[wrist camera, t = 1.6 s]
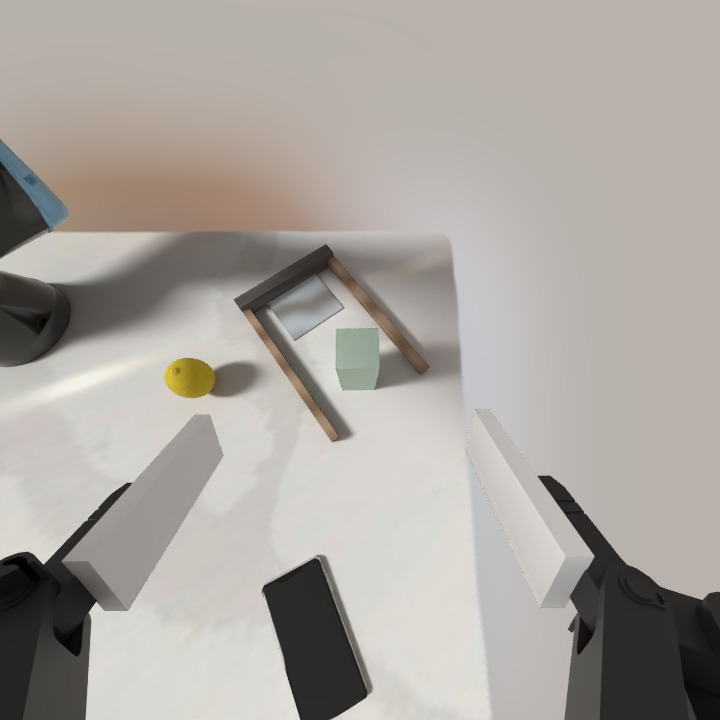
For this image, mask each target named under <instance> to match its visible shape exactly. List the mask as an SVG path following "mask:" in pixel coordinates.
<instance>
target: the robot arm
mask: <svg viewBox="0 0 720 720" xmlns="http://www.w3.org/2000/svg"><path fill="white" fill-rule="evenodd" d="M68 216H69V212H68V209H67V207H66V206H65V205H64V203H63V202H62V201H61V200H60V199H59V198H58V197H57V196H56V195H55V194H54V193H53V192H52V191H51V190H50V189H49V188H48V187H47V185H46V184H45V183H44V182H43V181H42V180H41V179H40V178H39V177H38V176H37V175H36V174H35V173H34V172H33V171H32V170H31V169H30V168H29V167H28V166H27V165H26V164H25V163H24V162H23V161H21V159H20V158H19V157H18V156H17V155H16V154H15V153H14V152H13V151H12V150H11V149H10V148H9V147H8V146H7V145H6V144H4V142H3V141H1V139H0V258H2V257H4V256H6V255H8V254H9V253H11V252H13V251H15V250H16V249H18V248H20V247H22V246H24V245H25V244H27V243H29V242H31V241H33V240H35V239H37V238H38V237H40V236H42V235H44V234H46V233H50V232H52V231H53V230H54V228H55V227H57V226H58V225H59V224H61V223H63V222H64V221H65V220H67V219H68ZM69 316H70V306H69V302H68V300H67V298H66V296H65V295H64V294H63V293H62V292H61V291H59V290H58V289H56V288H54V287H52V286H50V285H48V284H46V283H44V282H42V281H39V280H36V279H32V278H27V277H23V276H20V275H16V274H12V273H8V272H4V271H0V366H1V367H8V366H16V365H20V364H23V363H26V362H29V361H31V360H33V359H35V358H37V357H38V356H40V355H42V354H43V353H44V352H46V351H47V350H48V349H49V348H51V347H52V346H53V345H54V344H55V343H56V342H57V340H58V339H59V338H60V337H61V335H62V334H63V332H64V330H65V328H66V326H67V324H68V321H69ZM466 453H467V455H468V458H469V460H470V462H471V464H472V466H473V468H474V470H475V472H476V474H477V477H478V479H479V481H480V483H481V485H482V487H483V489H484V491H485V494H486V496H487V498H488V500H489V502H490V504H491V506H492V508H493V511H494V513H495V515H496V517H497V519H498V521H499V523H500V526H501V528H502V530H503V532H504V534H505V536H506V538H507V540H508V543H509V544H510V547H511V549H512V551H513V553H514V555H515V557H516V559H517V562H518V564H519V566H520V568H521V570H522V572H523V574H524V576H525V579H526V581H527V583H528V585H529V587H530V589H531V591H532V593H533V596H534V598H535V600H536V602H537V604H538V606H539V608H564V607H565V606H566V604H567V602H568V601H569V599H570V598H571V600H572V602H573V604H574V606H575V607H576V609H577V611H578V613H577V614H576V616H575V617H574V619H573V621H572V622H571V624H570V626H569V628H568V630H569V631H571V632H573V631H574V638H573V647H572V656H571V665H570V674H569V684H568V692H567V702H566V712H565V720H720V592H714V593H709V594H708V595H707V596H706V597H705V598H704V599H703V600H700V599H697V598H694V597H691V596H687V595H684V594H681V593H678V592H674V591H671V590H668V589H665V588H662V587H660V586H659V585H658V584H656V583H655V582H654V581H653V580H652V579H651V578H650V577H649V576H647V575H646V574H644V573H643V572H641V571H640V570H638V569H636V568H634V567H632V566H629V565H627V564H626V563H625V562H624V561H623V560H622V559H621V558H620V557H619V555H618V554H617V553H616V552H615V550H614V549H613V548H612V547H611V545H610V544H609V543H608V541H607V540H606V539H605V538H604V537H603V535H602V534H601V533H600V531H599V530H598V529H597V527H596V526H595V525H594V524H593V522H592V521H591V520H590V519H589V517H588V516H587V515H586V514H584V511H583V510H582V509H581V507H580V506H579V505H578V503H575V500H574V498H573V497H572V496H571V495H570V493H569V492H568V491H567V490H566V488H565V487H564V486H562V485H561V484H560V483H559V482H557V481H556V480H555V479H554V478H552V477H551V476H537V475H536V474H535V472H534V471H533V469H532V468H531V467H530V465H529V464H528V463H527V461H526V460H525V458H524V457H523V456H522V454H521V453H520V451H519V450H518V449H517V447H516V446H515V444H514V443H513V442H512V440H511V439H510V438H509V436H508V435H507V433H506V432H505V430H504V429H503V428H502V426H501V425H500V423H499V422H498V421H497V419H496V418H495V416H494V415H493V414H492V412H491V411H490V409H474V410H473V416H472V421H471V426H470V432H469V437H468V442H467V448H466ZM222 457H223V453H222V450H221V447H220V444H219V441H218V438H217V435H216V432H215V429H214V426H213V423H212V420H211V417H210V415H194V416H193V417H192V419H191V420H190V421H189V422H188V423H187V424H186V425H185V426H184V427H183V428H182V430H181V431H180V432H179V433H178V434H177V435H176V436H175V437H174V438H173V439H172V441H171V442H170V443H169V444H168V445H167V446H166V447H165V448H164V449H163V450H162V451H161V453H160V454H159V455H158V456H157V457H156V458H155V459H154V460H153V461H152V462H151V464H150V465H149V466H148V467H147V468H146V469H145V470H144V471H143V472H142V473H141V475H140V476H139V477H138V478H137V479H136V480H135V481H134V482H133V483H126V484H125V485H123V486H122V487H120V488H119V489H118V490H116V491H115V492H113V493H112V494H111V495H110V496H109V497H108V498H107V499H106V500H105V501H104V502H103V503H102V504H101V505H100V506H99V509H98V510H96V511H95V512H94V513H93V514H92V515H91V516H90V517H89V518H88V521H85V522H84V523H83V524H82V525H81V526H80V527H79V528H78V529H77V530H76V532H75V533H74V534H73V535H72V536H71V537H70V538H69V539H68V540H67V541H66V542H65V543H64V544H63V545H62V546H61V547H60V548H59V549H58V550H57V551H56V552H55V554H54V555H53V556H52V557H51V558H50V559H49V560H48V561H47V562H46V563H45V564H44V565H43V564H42V563H41V562H40V561H39V560H38V559H37V557H36V556H35V555H34V554H32V553H29V552H22V553H17V554H14V555H11V556H9V557H6V558H4V559H2V560H0V720H85V718H86V701H87V684H88V667H89V650H90V634H91V617H90V614H89V613H88V612H89V611H90V610H91V608H92V607H93V605H94V604H95V603H96V602H97V603H98V604H99V605H100V606H101V607H102V608H103V609H104V611H128V610H129V608H130V607H131V605H132V603H133V602H134V600H135V598H136V597H137V595H138V594H139V592H140V590H141V589H142V587H143V585H144V584H145V582H146V581H147V579H148V577H149V576H150V574H151V573H152V571H153V569H154V568H155V566H156V564H157V563H158V561H159V560H160V558H161V556H162V555H163V553H164V551H165V550H166V548H167V547H168V545H169V543H170V542H171V540H172V538H173V537H174V535H175V534H176V532H177V530H178V529H179V527H180V526H181V524H182V522H183V521H184V519H185V517H186V516H187V514H188V513H189V511H190V509H191V508H192V506H193V504H194V503H195V501H196V500H197V498H198V496H199V495H200V493H201V491H202V490H203V488H204V487H205V485H206V483H207V482H208V480H209V479H210V477H211V475H212V474H213V472H214V470H215V469H216V467H217V466H218V464H219V462H220V461H221V459H222Z"/></svg>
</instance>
